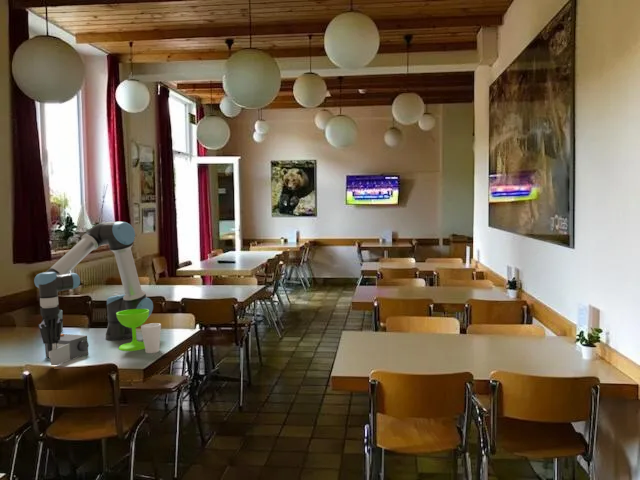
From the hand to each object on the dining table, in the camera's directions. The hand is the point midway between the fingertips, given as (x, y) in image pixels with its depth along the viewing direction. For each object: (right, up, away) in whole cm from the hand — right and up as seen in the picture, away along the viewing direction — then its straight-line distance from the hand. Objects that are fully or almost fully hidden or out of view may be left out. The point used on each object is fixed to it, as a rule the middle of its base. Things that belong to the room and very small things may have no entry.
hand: (53, 357), depth 265 cm
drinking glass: (-34, 0, +76) cm, 83 cm away
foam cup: (+40, -1, +19) cm, 44 cm away
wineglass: (+28, -1, +30) cm, 41 cm away
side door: (+3, -3, +3) cm, 5 cm away
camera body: (0, -3, +18) cm, 18 cm away
